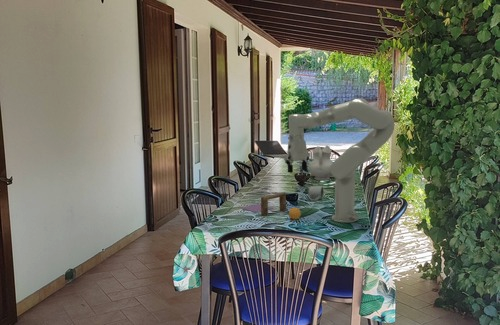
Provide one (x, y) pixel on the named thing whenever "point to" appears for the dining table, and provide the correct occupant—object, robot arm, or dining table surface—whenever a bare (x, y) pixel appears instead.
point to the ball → (294, 213)
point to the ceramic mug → (315, 193)
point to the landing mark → (254, 208)
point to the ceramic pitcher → (321, 163)
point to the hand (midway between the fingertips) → (297, 171)
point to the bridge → (265, 199)
